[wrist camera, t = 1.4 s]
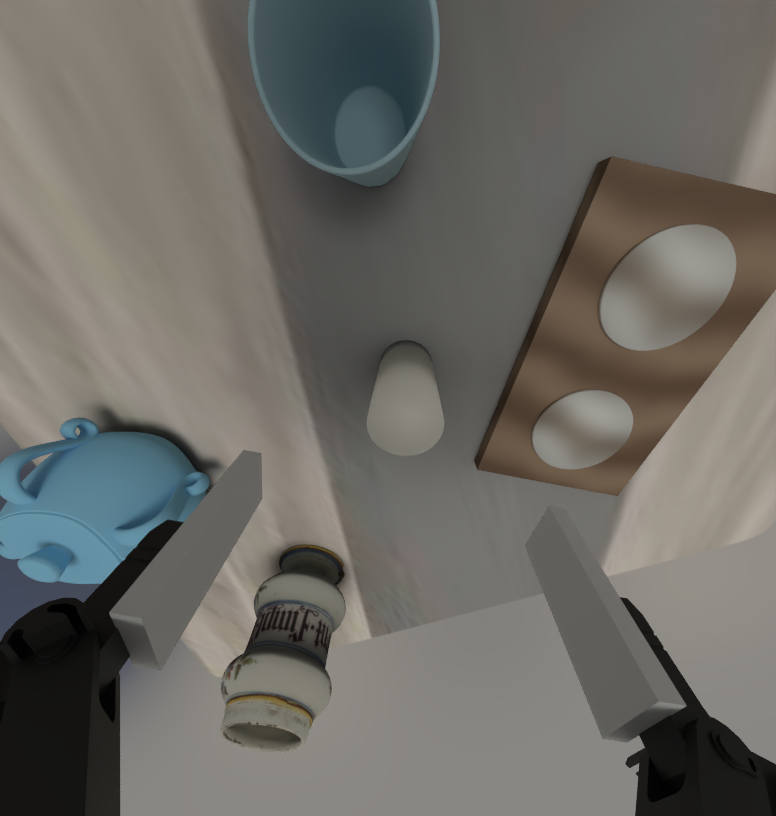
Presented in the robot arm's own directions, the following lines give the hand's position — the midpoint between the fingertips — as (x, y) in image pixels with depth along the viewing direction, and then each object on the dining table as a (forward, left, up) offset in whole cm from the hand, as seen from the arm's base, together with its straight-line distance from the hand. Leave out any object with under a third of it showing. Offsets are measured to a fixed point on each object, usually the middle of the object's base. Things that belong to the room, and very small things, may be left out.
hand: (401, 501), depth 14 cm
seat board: (-4, +18, -17) cm, 25 cm away
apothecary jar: (+34, -7, -18) cm, 39 cm away
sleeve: (0, 0, -17) cm, 17 cm away
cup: (-16, -6, -18) cm, 25 cm away
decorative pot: (+20, -28, -18) cm, 38 cm away
